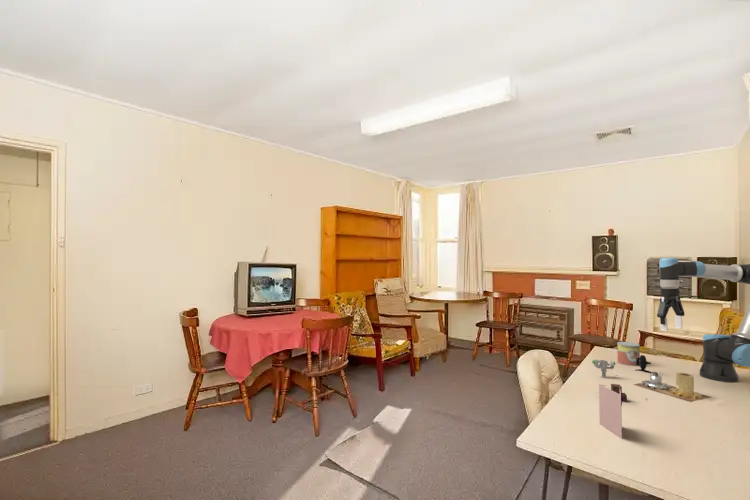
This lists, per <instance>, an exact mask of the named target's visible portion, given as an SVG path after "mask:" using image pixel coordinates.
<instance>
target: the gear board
mask: <svg viewBox="0 0 750 500" xmlns="http://www.w3.org/2000/svg"><path fill="white" fill-rule="evenodd" d="M652 375H653V376H658V375H659V373H658V372H657V371H654V372H653V374H652ZM632 385H633V386H636V387H639V388H642V389H646V390H649V391H653V392H655V393H660V394H663V395H666V396H668V397H673V398H676V399H679V400H683V401H685V402H689V403H692V402H696V401H701V400H705V399H708V398H709V399H710V398H711V396H709V395H707V394H706V395H705V394H702V393H700V394H701V395H702V398H701V399H697V398H696V399H691V398H688V399H687V398H684V397H678V396H676V395H673V394H671V393H670V391H669V389H668V390H658V389H651V388H650V387H645V385H642V382H640V383H634V384H632ZM670 387H671V388H674V389H675V388H676V386H673V385H670Z"/></svg>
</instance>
